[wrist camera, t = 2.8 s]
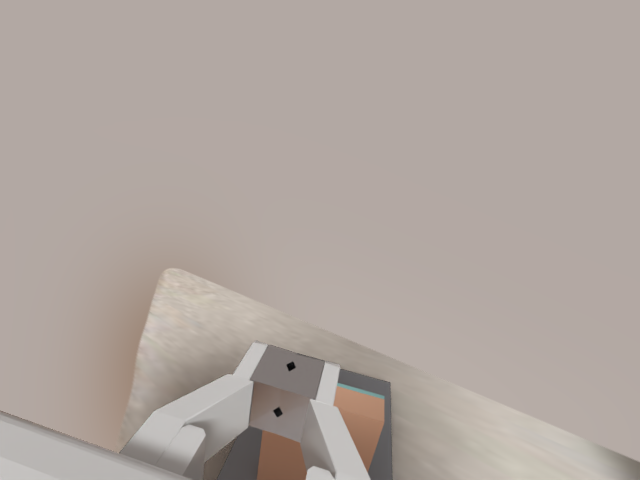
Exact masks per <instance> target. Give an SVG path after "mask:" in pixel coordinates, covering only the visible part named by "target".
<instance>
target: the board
mask: <svg viewBox="0 0 640 480" xmlns="http://www.w3.org/2000/svg"><path fill="white" fill-rule="evenodd" d="M324 365H325V364H324ZM323 369H324V368H323ZM338 383H340V384H344V385H347V386H351V387H354V388H358V389H361V390H365V391H368V392H372V393H375V394H379V395H383V396H384V425H383V428H382V431H381V434H380V437H379V440H378V443H377V446H376V449H375V452H374V455H373V458H372V461H371V464H370V467H369V470H368V475H369V477H370V479H371V480H392V436H391V391H390V382H386V381H383V380H379V379H375V378H372V377H368V376H364V375H361V374H357V373H354V372H350V371H346V370H343V369H340V372H339V377H338ZM262 431H263V430H261V429H258V428H254V427H251V426H248V428H247V429H246V430H244V431H243V432H242V433H241V434H239V435H238V437H237V439H236V441H235V443H234V445H233V447H232V449H231V451H230V453H229V455H228V457H227V459H226V461H225V464H224V466H223V468H222V470H221V472H220V474H219V476H218V478H217V480H257V473H258V465H259V456H260V448H261V440H262Z"/></svg>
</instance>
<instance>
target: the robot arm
mask: <svg viewBox="0 0 640 480" xmlns="http://www.w3.org/2000/svg"><path fill="white" fill-rule="evenodd" d="M324 364H325V365H324ZM323 368H324V369H323ZM339 372H340V365H339V364H336V363H332V362H328V361H324V360H320V359H317V358H313V357H309V356H306V355H302V354H299V353H295V352H292V351H289V350H285V349H282V348H279V347H276V346H273V345H268V344H265V343H262V342H259V341H254V342H253V343H252V345H251V346H250V348H249V349H248V351H247V352H246V354H245V356H244V357H243V359H242V360H241V362H240V363H239V365H238V367H237V368H236V370H235V371H234V373H233V375H231V374H226V375H225V376H223V377H221V378H219V379H217V380H215V381H213V382H211V383H209V384H207V385H205V386H203V387H201V388H199V389H197V390H195V391H193V392H191V393H189V394H187V395H185V396H183V397H181V398H179V399H177V400H175V401H173V402H171V403H169V404H167V405H165V406H163V407H161V408H159V409H157V410H155V411H154V412H153V413H152V414H151V415H150V416H149V418H148V419H147V420H146V421H145V422H144V424H143V425H142V426H141V427H140V428H139V430H138V431H137V432H136V433H135V434H134V436H133V437H132V438H131V439H130V440H129V442H128V443H127V444H126V445H125V446H124V448H123V449H122V450H121V451H120V452H119V453H117V452H114V451H111V450H109V449H106V448H103V447H100V446H98V445H95V444H92V443H89V442H86V441H84V440H81V439H78V438H75V437H72V436H70V435H67V434H64V433H61V432H58V431H56V430H53V429H50V428H47V427H44V426H42V425H39V424H36V423H33V422H31V421H28V420H25V419H22V418H19V417H17V416H14V415H11V414H8V413H5V412H3V411H0V480H203V479H204V463H205V462H206V461H207V460H209V459H210V458H211V457H212V456H214V455H215V454H216V453H217V452H218V451H220V450H221V449H222V448H223V447H225V446H226V445H227V444H228V443H230V442H231V441H232V440H233V439H234V438H236V437H237V436H238V435H239V434H241V433H242V432H243V431H244V430H246V429H247V428H248V426H251V427H254V428H258V429H261V430H265V431H268V432H272V433H275V434H278V435H280V436H283V437H286V438H289V439H292V440H294V441H297V442H300V445H301V450H302V454H303V458H304V463H305V467H306V471H307V475H306V480H371V479H370V477H369V475H368V473H367V470H366V468H365V466H364V464H363V462H362V459H361V457H360V455H359V453H358V451H357V448H356V446H355V444H354V442H353V440H352V437H351V435H350V433H349V431H348V429H347V426H346V424H345V422H344V420H343V418H342V415H341V413H340V411H339V409H338V407H335V406H333V404H334V399H335V393H336V388H337V383H338V377H339Z"/></svg>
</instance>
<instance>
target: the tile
mask: <svg viewBox="0 0 640 480" xmlns="http://www.w3.org/2000/svg"><path fill="white" fill-rule="evenodd" d="M333 406H335V407H338V409H339V411H340V413H341V415H342V418H343V420H344V422H345V424H346V426H347V429H348V431H349V433H350V435H351V437H352V440H353V442H354V444H355V446H356V448H357V451H358V453H359V455H360V457H361V459H362V462H363V464H364V466H365V468H366V470H367V473H368V470H369V467H370V464H371V461H372V458H373V455H374V452H375V449H376V446H377V443H378V440H379V437H380V434H381V431H382V428H383V425H384V396H383V395H379V394H375V393H372V392H368V391H365V390H361V389H358V388H354V387H351V386H347V385H344V384H340V383H337V388H336V393H335V399H334V404H333ZM306 475H307V471H306V467H305V463H304V458H303V454H302V450H301V445H300V442H297V441H294V440H292V439H289V438H286V437H283V436H280V435H278V434H275V433H272V432H268V431H265V430H263V431H262V440H261V448H260V456H259V465H258V473H257V480H306Z"/></svg>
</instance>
